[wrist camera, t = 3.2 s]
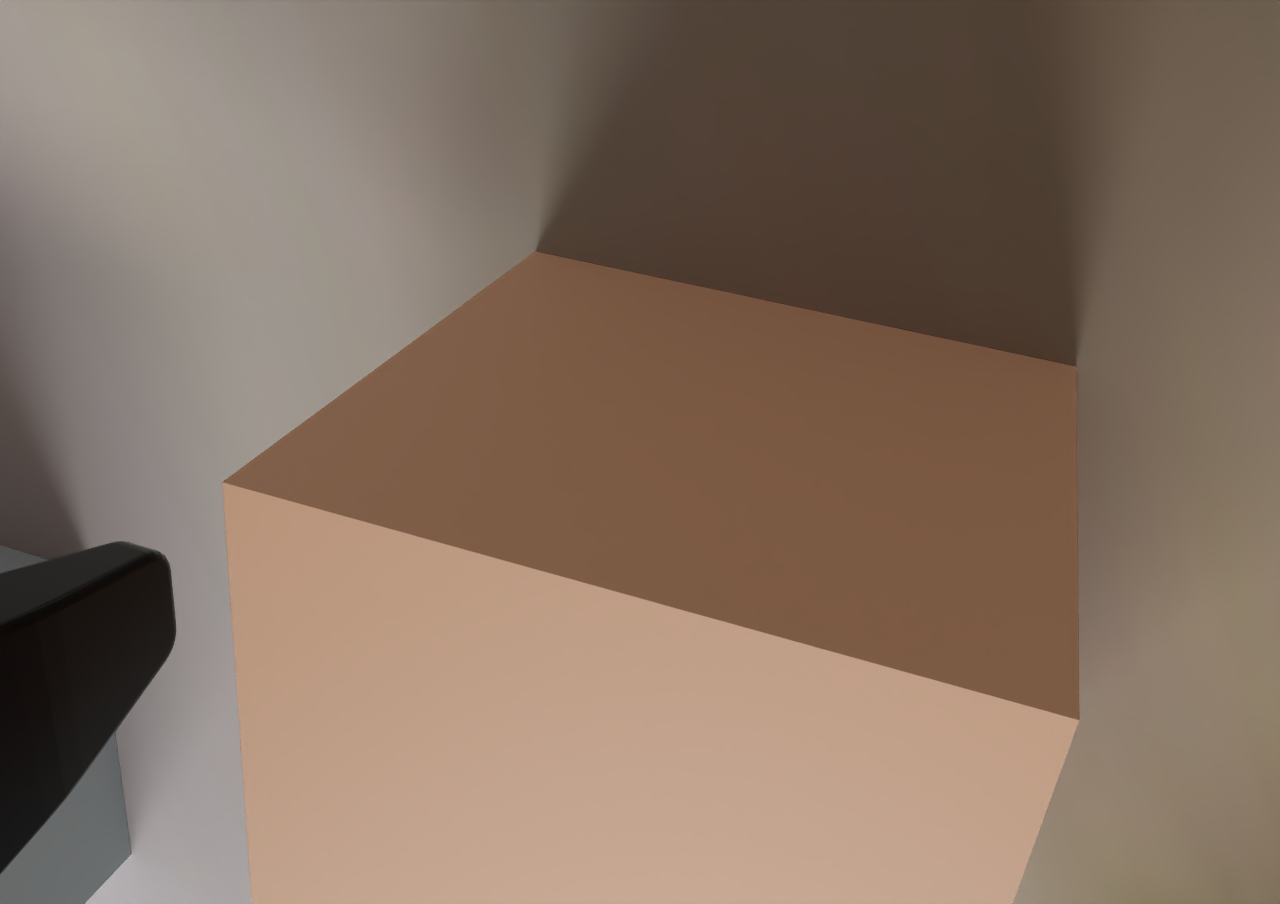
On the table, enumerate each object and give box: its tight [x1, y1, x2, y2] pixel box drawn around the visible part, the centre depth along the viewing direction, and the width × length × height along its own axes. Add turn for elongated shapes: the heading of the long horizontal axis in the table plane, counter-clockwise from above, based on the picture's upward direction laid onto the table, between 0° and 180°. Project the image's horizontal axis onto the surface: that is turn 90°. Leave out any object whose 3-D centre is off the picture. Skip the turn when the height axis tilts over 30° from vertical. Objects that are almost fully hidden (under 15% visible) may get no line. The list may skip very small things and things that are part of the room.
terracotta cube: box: [222, 251, 1079, 904], centre depth 10 cm, size 5×5×5 cm
